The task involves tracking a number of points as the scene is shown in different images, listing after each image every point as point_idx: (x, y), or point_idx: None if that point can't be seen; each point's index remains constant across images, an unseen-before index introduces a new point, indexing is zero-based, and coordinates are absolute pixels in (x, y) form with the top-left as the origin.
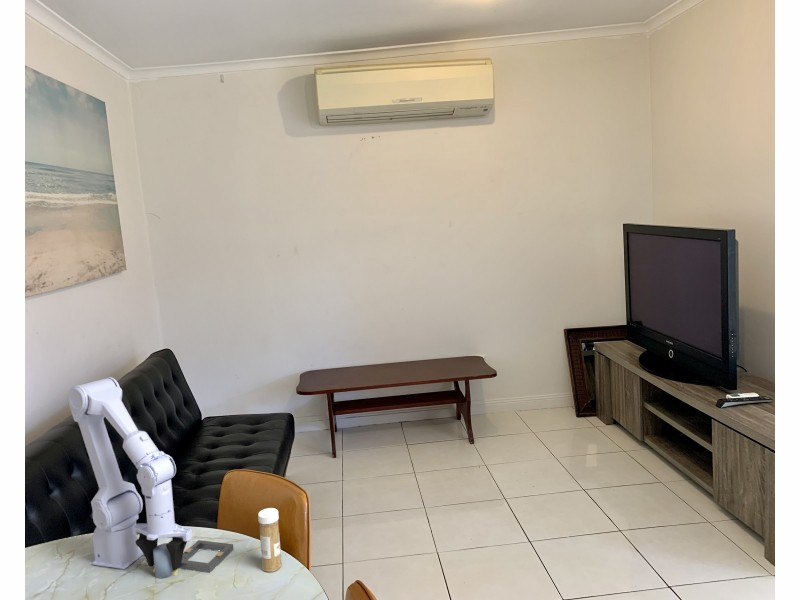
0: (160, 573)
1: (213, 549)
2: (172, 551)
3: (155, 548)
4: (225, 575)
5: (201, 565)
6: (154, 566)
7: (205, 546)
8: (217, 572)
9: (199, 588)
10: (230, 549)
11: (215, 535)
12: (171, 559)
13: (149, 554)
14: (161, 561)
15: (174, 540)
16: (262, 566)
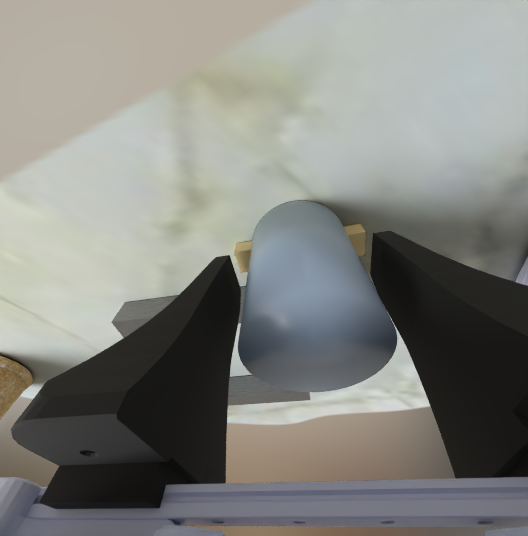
0: (283, 215)
1: (240, 379)
2: (133, 346)
3: (381, 335)
4: (62, 307)
5: (148, 317)
6: (339, 233)
7: (269, 384)
8: (106, 310)
9: (40, 215)
10: None
11: (300, 413)
12: (201, 291)
13: (415, 282)
14: (272, 260)
15: (133, 464)
16: (2, 365)
